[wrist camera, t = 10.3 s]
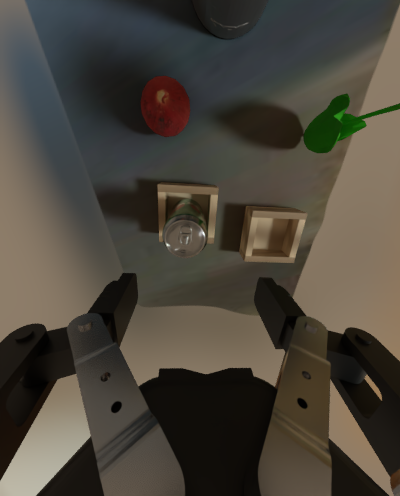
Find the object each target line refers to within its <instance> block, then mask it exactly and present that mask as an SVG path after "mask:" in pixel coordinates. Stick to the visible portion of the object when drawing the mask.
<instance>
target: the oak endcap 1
mask: <svg viewBox="0 0 400 496" xmlns="http://www.w3.org/2000/svg"><path fill="white" fill-rule="evenodd" d="M218 189H219V188H218V187H217V186H215V185H199V184H181V183H163V182H161V183H159V184H158V214H159V242H163V238H162V232H163V228H164V226H165V223H166V221H167V219H168V217H169V215H170V213H171V211H172V208H173V206H174V205H175V204H176V203H177V202H178V201H180V200H182V199H192V200H194V201H196V202H197V203H198V204H199V205H200V206H201V208H202V210H203V214H204V218H205V222H206V226H207V230H208V241H207V243H211V244H213V243H214V232H215V221H216V210H217V199H218Z"/></svg>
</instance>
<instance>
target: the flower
mask: <svg viewBox="0 0 400 496" xmlns="http://www.w3.org/2000/svg"><path fill="white" fill-rule="evenodd" d="M349 102H350V98H349V96H348V94H343V95H340V96H337V97H336V98H334V99H333V100H332V101H331V103H330V105H329V106H328V108H327V109H326V110H325V111H324V112H322V113H321V114H320V115H318V116H317V117H316V118H315V119H314V120H313V121H312V122H311V123H310V124H309V126H308V127H307V129H306V130H305V133H304V143H305V145H306V147H307V148H308V149H309V150H311V151H313V152H316V153H328V152H329V151H331V150H332V148H333V147H334V145H335V144H336V142H337V141H340V140H342V139H344V138H346V137H348V136H350V135H351V134H353V133H355V132H357V131H359V130H360V129H362V128H364V127H366V123H365V121H363V120H362V119H365V118H368V117H372V116H375V115H379V114H383V113H387V112H390V111H394V110H398V109H400V104H397V105H394V106H390V107H387V108H384V109H381V110H378V111H375V112H372V113H369V114H366V115H363V116H360V117H355V116H353V115H351V114H344V112H345V111H346V109H347V108H348V106H349Z"/></svg>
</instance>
